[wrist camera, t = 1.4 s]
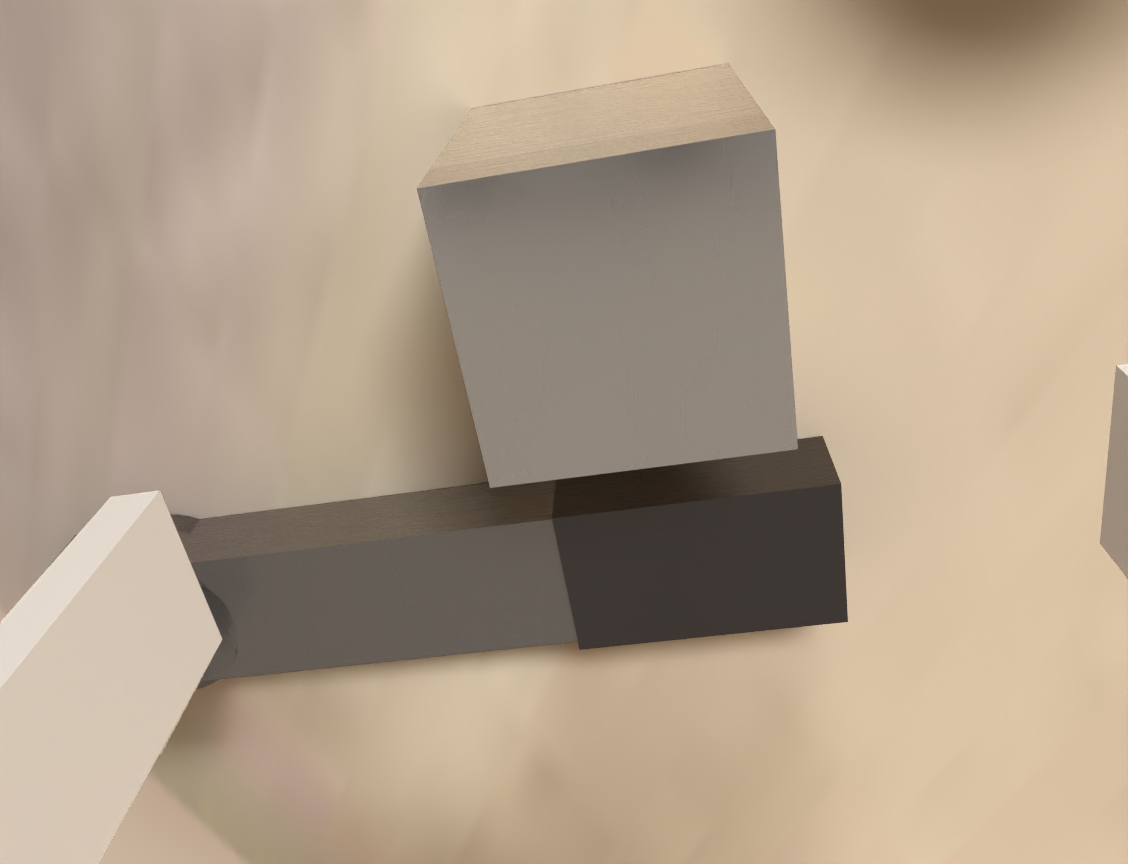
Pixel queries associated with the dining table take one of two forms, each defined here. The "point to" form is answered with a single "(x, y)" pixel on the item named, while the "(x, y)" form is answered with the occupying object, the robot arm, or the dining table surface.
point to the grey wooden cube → (616, 277)
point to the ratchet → (526, 565)
